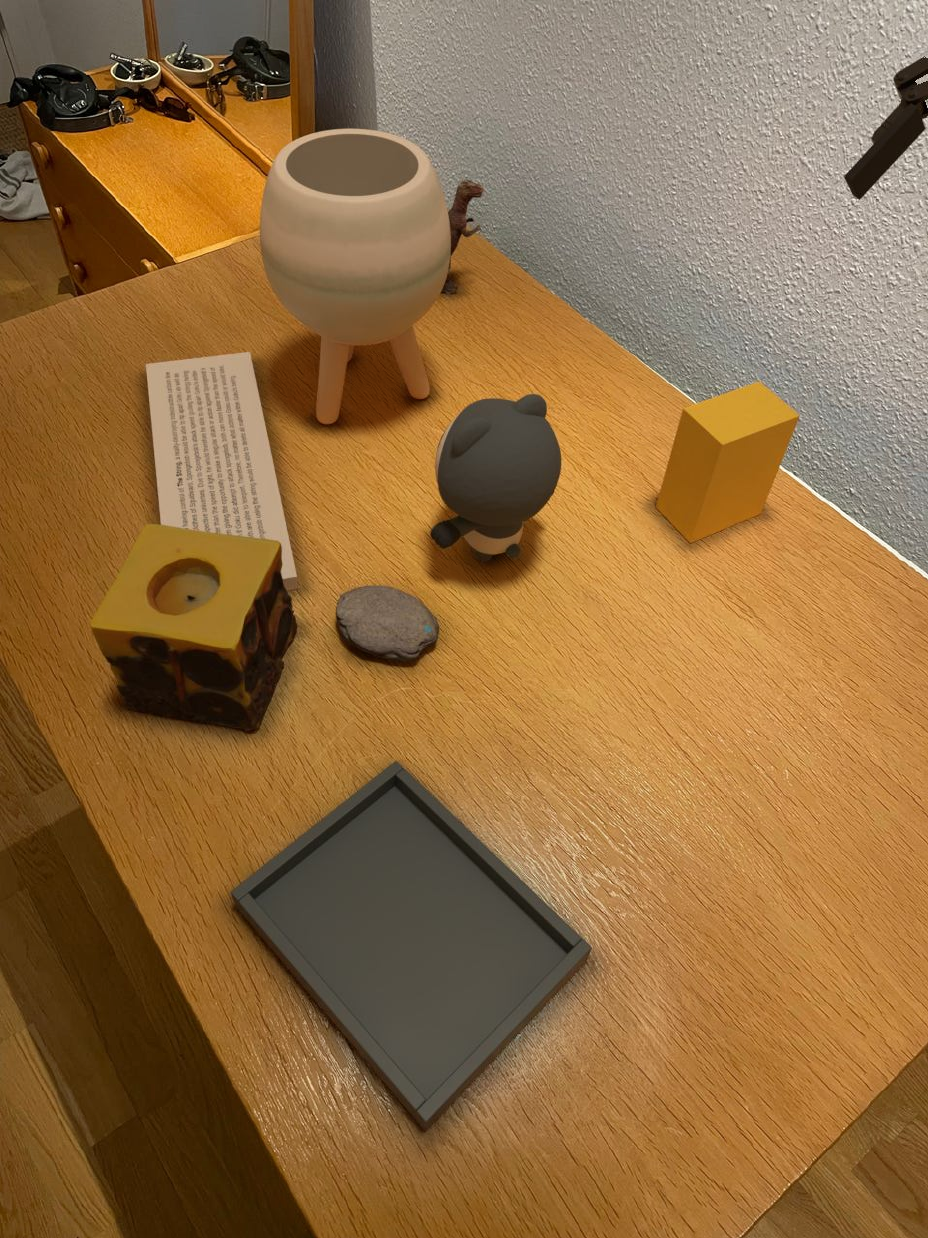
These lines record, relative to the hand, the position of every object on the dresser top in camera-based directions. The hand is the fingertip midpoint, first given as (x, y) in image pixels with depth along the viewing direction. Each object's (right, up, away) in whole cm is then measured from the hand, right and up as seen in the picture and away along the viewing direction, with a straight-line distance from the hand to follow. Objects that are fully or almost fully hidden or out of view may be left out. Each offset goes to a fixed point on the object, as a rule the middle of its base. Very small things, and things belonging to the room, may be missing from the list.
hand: (916, 229), depth 70 cm
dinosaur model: (-39, +8, +35) cm, 53 cm away
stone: (-39, -30, +4) cm, 50 cm away
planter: (-43, -7, +23) cm, 50 cm away
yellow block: (-12, -19, +14) cm, 27 cm away
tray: (-37, -48, -11) cm, 62 cm away
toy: (-32, -23, +10) cm, 40 cm away
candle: (-52, -33, +1) cm, 62 cm away
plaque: (-56, -16, +15) cm, 60 cm away
